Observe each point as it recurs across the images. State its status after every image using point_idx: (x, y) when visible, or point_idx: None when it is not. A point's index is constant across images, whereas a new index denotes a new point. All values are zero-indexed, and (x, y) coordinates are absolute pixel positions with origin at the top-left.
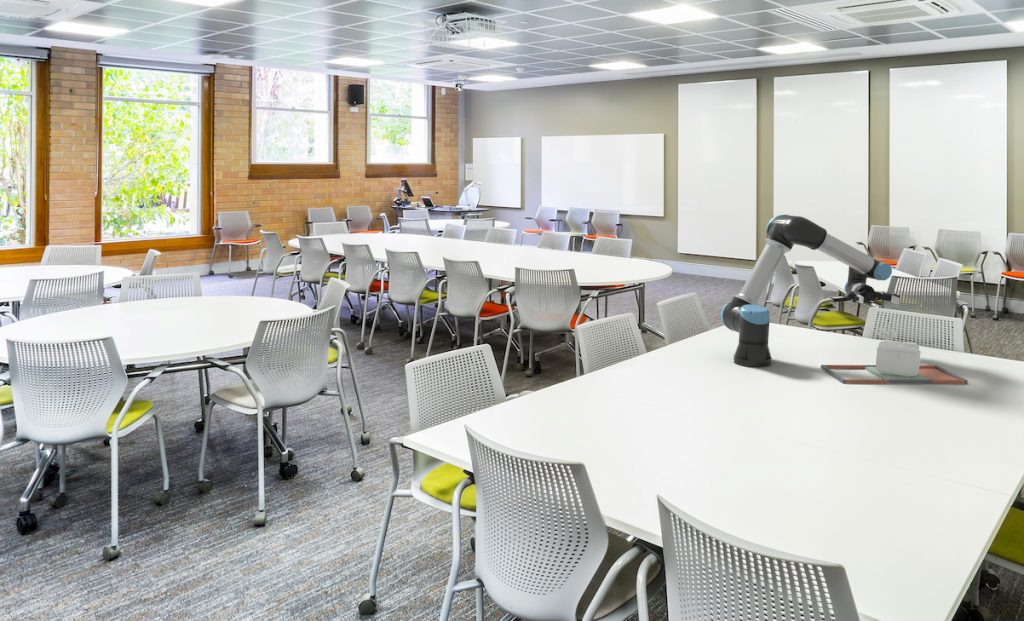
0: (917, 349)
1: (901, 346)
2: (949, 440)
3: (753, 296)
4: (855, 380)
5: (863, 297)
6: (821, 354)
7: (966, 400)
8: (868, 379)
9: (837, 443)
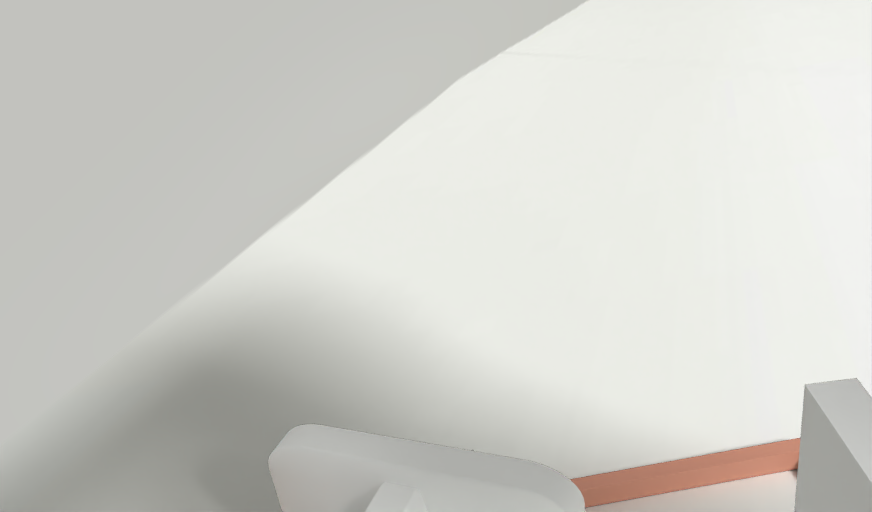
0: (297, 426)
1: (392, 451)
2: (508, 133)
3: None
4: (739, 451)
5: (812, 394)
6: None
7: (276, 351)
8: (660, 468)
9: (754, 83)
